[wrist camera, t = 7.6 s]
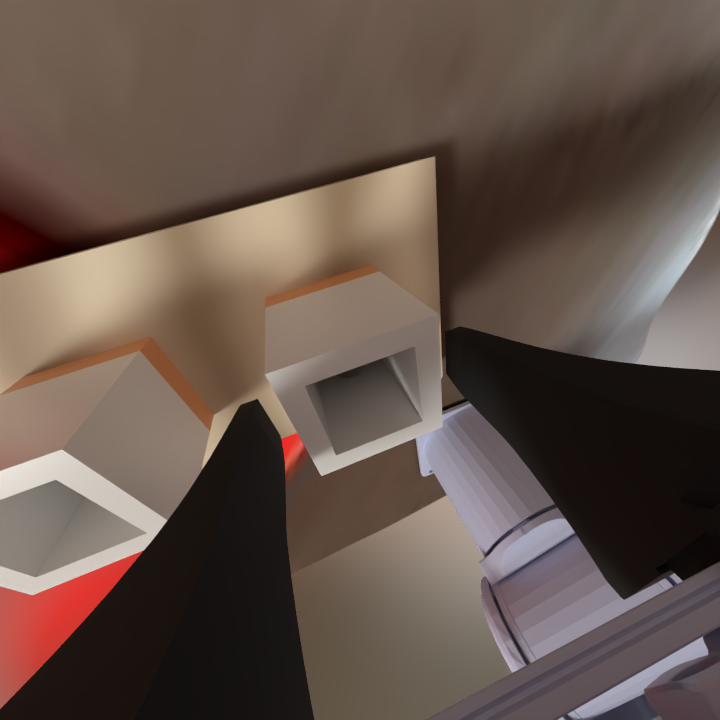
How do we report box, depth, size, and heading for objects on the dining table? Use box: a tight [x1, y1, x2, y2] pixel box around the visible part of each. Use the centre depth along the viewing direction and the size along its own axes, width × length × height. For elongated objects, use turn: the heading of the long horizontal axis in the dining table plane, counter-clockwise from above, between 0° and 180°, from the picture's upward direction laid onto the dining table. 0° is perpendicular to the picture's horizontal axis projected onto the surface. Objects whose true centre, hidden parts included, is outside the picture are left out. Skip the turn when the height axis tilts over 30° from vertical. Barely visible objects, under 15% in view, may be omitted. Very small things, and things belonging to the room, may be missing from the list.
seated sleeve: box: [0, 337, 214, 595], centre depth 10 cm, size 5×5×6 cm
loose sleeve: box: [265, 265, 443, 476], centre depth 11 cm, size 5×5×6 cm
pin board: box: [0, 157, 442, 469], centre depth 12 cm, size 22×12×5 cm, turn 102°
